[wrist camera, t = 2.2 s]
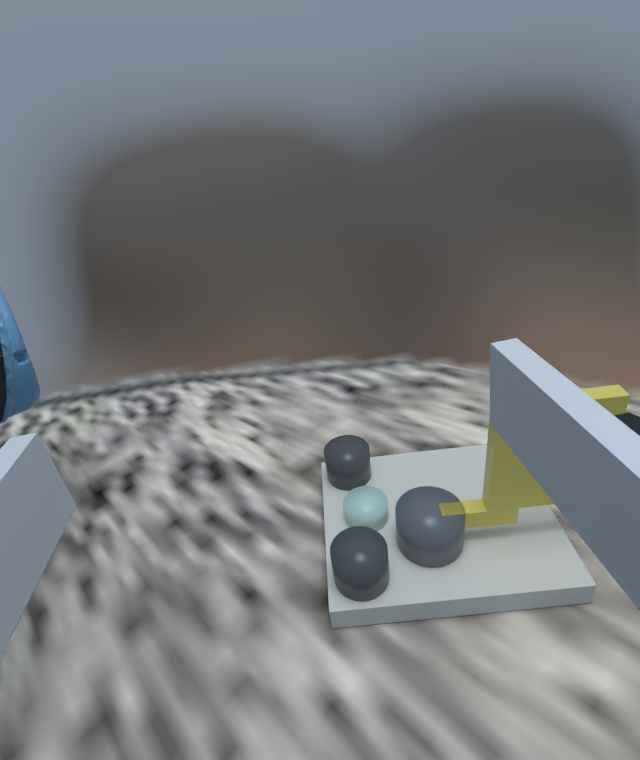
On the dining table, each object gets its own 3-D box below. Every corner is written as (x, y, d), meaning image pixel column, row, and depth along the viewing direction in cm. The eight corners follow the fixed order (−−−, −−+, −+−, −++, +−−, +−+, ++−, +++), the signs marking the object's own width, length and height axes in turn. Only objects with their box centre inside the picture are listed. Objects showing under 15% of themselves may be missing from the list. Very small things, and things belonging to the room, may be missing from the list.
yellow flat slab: (402, 570, 34) (397, 442, 27) (391, 516, 38) (385, 394, 32) (606, 549, 33) (649, 413, 27) (572, 496, 38) (602, 369, 31)
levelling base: (332, 628, 33) (324, 585, 30) (323, 478, 46) (317, 438, 43) (590, 603, 32) (605, 556, 30) (509, 457, 45) (514, 416, 42)
